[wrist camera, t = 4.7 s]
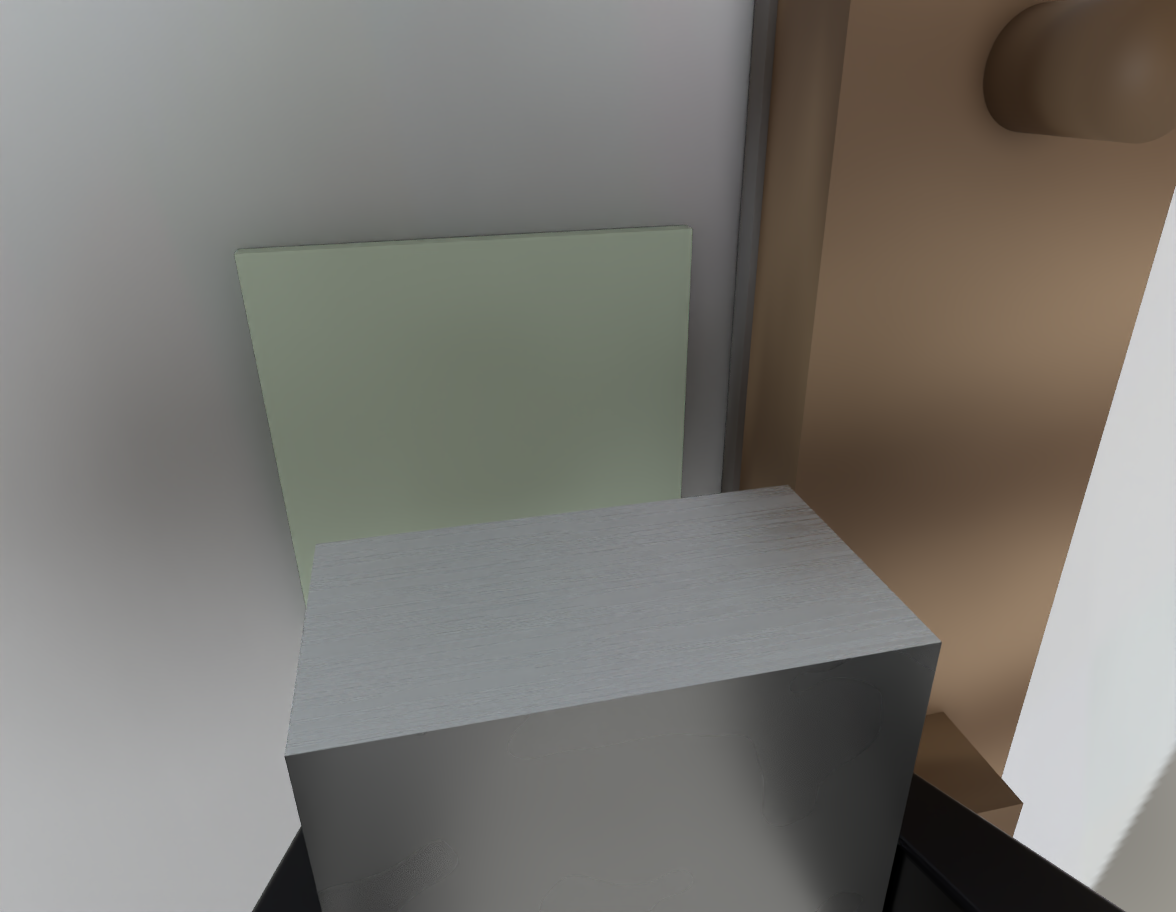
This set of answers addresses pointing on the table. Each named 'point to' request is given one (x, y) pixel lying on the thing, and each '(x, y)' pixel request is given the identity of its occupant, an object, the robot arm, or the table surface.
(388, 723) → the white block brass knob
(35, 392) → the table surface
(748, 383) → the plane body
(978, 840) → the robot arm
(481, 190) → the table surface
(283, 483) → the felt pad
